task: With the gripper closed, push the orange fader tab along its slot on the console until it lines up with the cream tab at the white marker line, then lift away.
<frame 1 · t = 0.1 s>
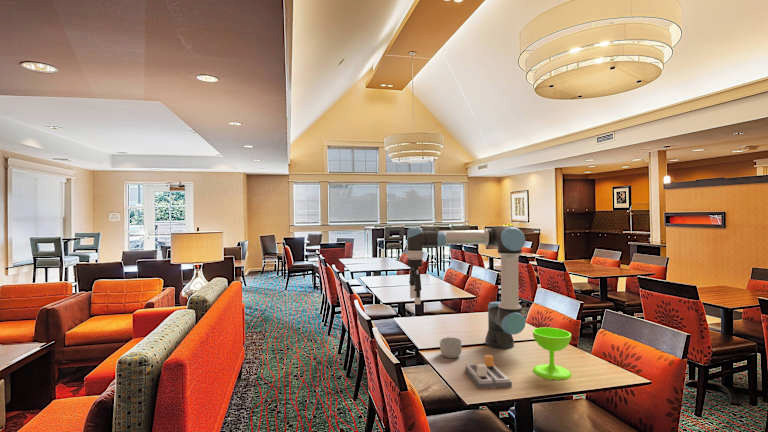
hand: (415, 301, 196), 28 cm above the table, fingers open, 13 cm apart
fader a: (489, 361, 175), point 5 cm above the table, slide at 0.0 cm
wineglass: (551, 373, 175), on the table
fader b: (481, 371, 165), point 5 cm above the table, slide at 10.0 cm
teacup: (450, 355, 198), on the table
console: (487, 378, 169), on the table
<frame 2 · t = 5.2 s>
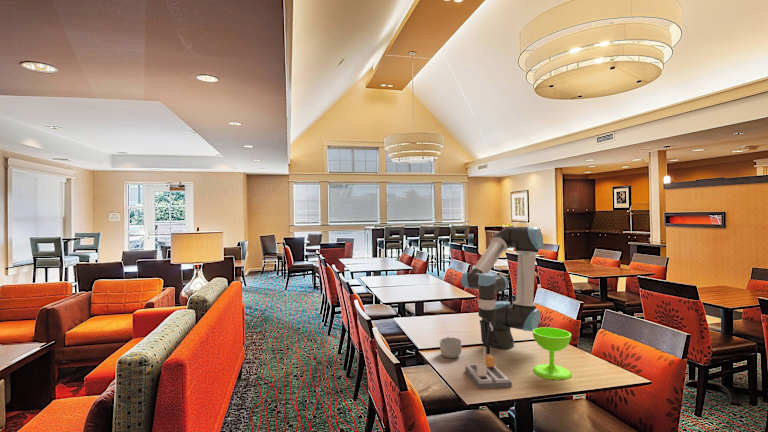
hand: (487, 360, 177), 5 cm above the table, fingers closed
fader a: (489, 362, 175), point 5 cm above the table, slide at 0.6 cm, touching gripper
everything else where it was.
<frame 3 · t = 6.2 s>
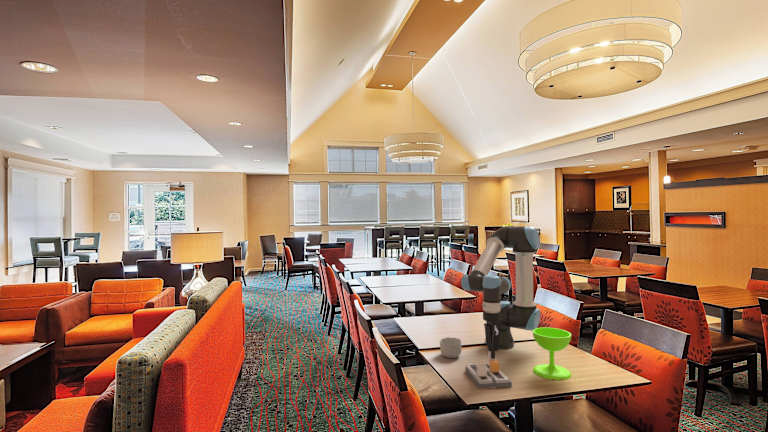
hand: (491, 364, 171), 5 cm above the table, fingers closed
fader a: (494, 367, 169), point 5 cm above the table, slide at 6.3 cm, touching gripper
everything else where it was.
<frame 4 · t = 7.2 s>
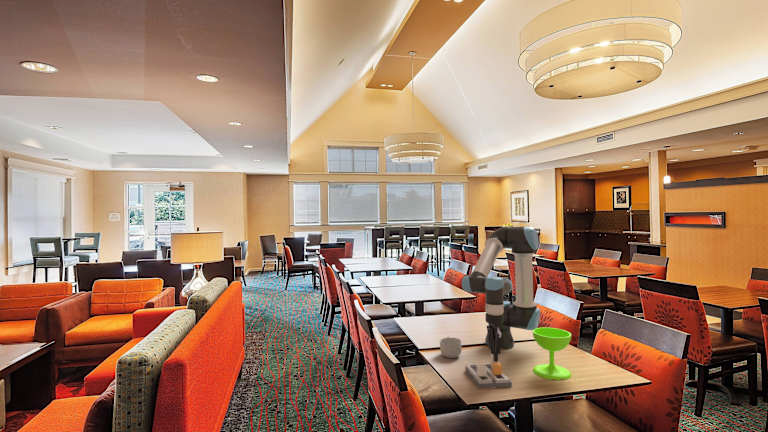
hand: (494, 367, 168), 5 cm above the table, fingers closed
fader a: (496, 369, 166), point 5 cm above the table, slide at 9.2 cm, touching gripper
everything else where it was.
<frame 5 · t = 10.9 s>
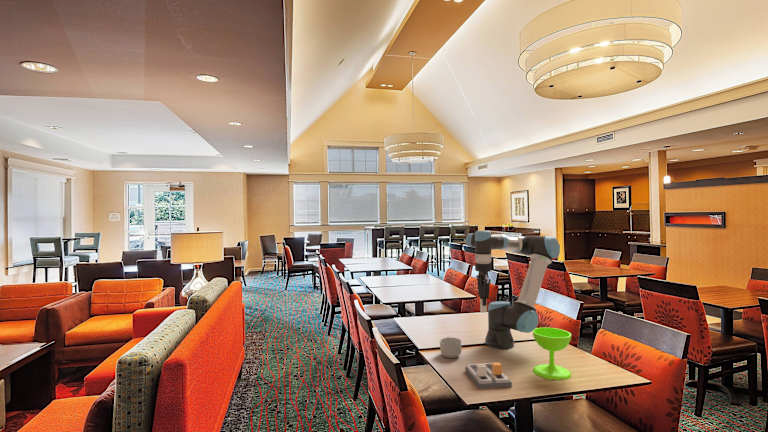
hand: (483, 311, 187), 24 cm above the table, fingers closed
fader a: (496, 369, 166), point 5 cm above the table, slide at 9.2 cm
everything else where it was.
at the end: fader a slide at 9.2 cm; fader b slide at 10.0 cm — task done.
